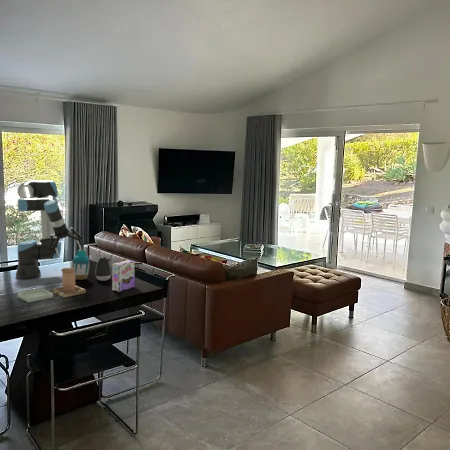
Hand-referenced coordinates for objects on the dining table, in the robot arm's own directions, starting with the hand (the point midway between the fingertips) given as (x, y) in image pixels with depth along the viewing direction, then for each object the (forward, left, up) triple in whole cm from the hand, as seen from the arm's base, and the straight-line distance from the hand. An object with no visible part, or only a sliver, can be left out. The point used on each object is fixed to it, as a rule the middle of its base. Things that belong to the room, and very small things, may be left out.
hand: (70, 252), depth 282 cm
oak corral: (+20, -12, -19) cm, 30 cm away
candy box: (+34, +16, -19) cm, 43 cm away
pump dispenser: (+8, +18, -19) cm, 28 cm away
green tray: (+16, -30, -19) cm, 39 cm away
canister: (+20, -12, -19) cm, 30 cm away
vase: (-1, +6, -19) cm, 20 cm away
